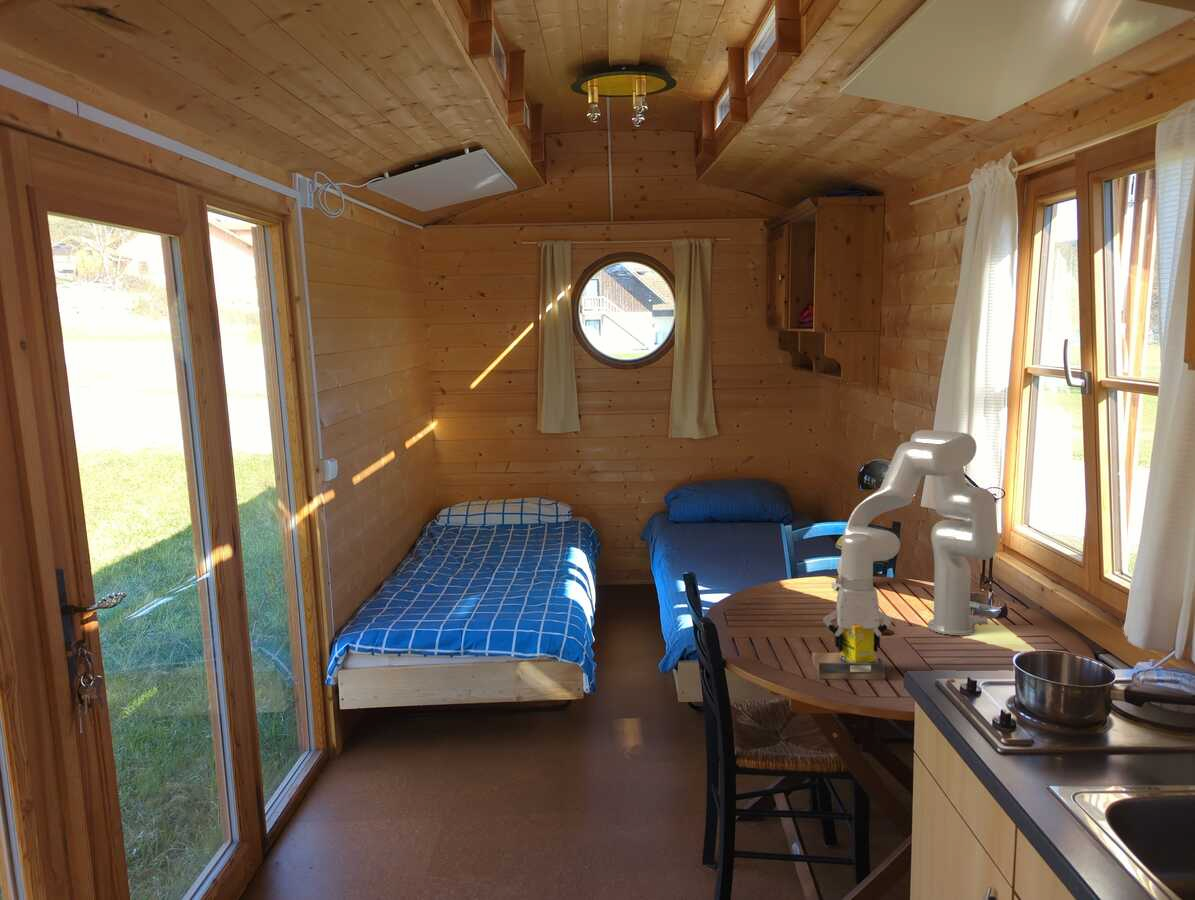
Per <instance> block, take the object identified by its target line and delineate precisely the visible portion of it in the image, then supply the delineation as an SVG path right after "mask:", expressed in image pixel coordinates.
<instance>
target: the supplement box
mask: <svg viewBox="0 0 1195 900" xmlns="http://www.w3.org/2000/svg"><path fill="white" fill-rule="evenodd" d="M841 636H842V651H841V652H840V653H841V661H843V662H845V663H874V654H875V651H874V631H873V629H863V626H862V625H855V626H851V629H844V630H843V631H842V633H841Z"/></svg>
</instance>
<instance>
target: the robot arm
mask: <svg viewBox="0 0 1195 900" xmlns="http://www.w3.org/2000/svg"><path fill="white" fill-rule="evenodd" d="M909 440H910V441H905V442H903V443H901V444H899V446H897V449H896V450H895V452H894V454H893V457H892V459H891V462H890V464H889V466H888V469H887V471H886V474H885V475H884V478H883V480H882V483H881V485H880V487H879V488H878V489H877V490H876V491H874V492H873V493H872V494H870V495H869V496H867V497H866V498H865V499H864V500H862V501H861V502H860V503H859V504H858V505H857V506H856V507H855V508H854V510H853V511H852V512H851V514H850V516H849V519H848V520H847V523H846V525H845V528H844V529H843V534H842V536H843V538H842V550H841V553H842V554H841V555H842V575H841V577H840V578H839V577H838V578H835V582H836V584H839V585H841V586H840V587H839V588H838V592H837V597H836V608H835V610H834V611H831V613H829V614H827V615H825V616H824V617H823V618H822V621H823V623H824V624H825V625H826V627H827V628H828V630H829V631H831V632H832V633H833V634H834V646H835V648H837V650H838V653H841V651H842V636H841V633H842V631H843V630H844V629H851V626H855V625H862V626H863V629H873V631H874V653H875V652H878V648H880V646H881V643H880V642H881V636H882V634H883V633H884V632H885V631H887V629H888V627H889V626H890V625H891V623H892V622H893V620H892V618H891V617H890V616H889V615H886V614H885V613H883V612H882V611H880V607H879V605H880V604H879V596H878V592H877V589H876V587H874V576H873V575H874V562H879V561H880V562H881V561H889V560H890V559H893V558H894V557H895V556H896V555H897V554H898V553H899V551H900V549H901V542H900V539H899V536H897V534H895V533H894V532H891V531H889V530H885V529H880V528H876V527H869V526H868V525H869V524H870V523H871V522H872V521H873V520H874V519H875V518H877V517H879V515H881V514H884V513H885V512H890V511H892V510H896V509H898V508H902V507H905V506H908V505H910V504H911V503H912V502H913V500H914V496H915V494H916V493H917V489H918V487H919V485H920V482H921V479H923V478H922V477H924V476H931V483H932V492H933V494H932V495H933V504H934V509H935V511H936V513H937V514H938V515H939V516H941V517H942V518H943V517H944V518H948V519H944V520H939V521H937V522H936V523H935V524H933V527H932V530H931V535H930V540H931V545H932V549H933V558H934V559H933V561H934V576H933V577H934V579H933V580H934V583H933V585H934V586H933V587H934V589H933V619H930V620H929V621H928V622H927V627H929V628H928V629H931V631H932V630H933V631H932V632H934V631H935V632H934V633H936V632H938V634H940V633H942V634H941V635H944V634H950V635H949V636H951V635H964V636H967V635H966V634H970V633H972V634H974V633H975V632H976V625H988V624H989V623H988V621H989V619H988V617H986V616H985V617H984V616H982V617H981V615H975V614H974V615H973V614H971V613H970V612H971V578H972V577H971V574H972V573H971V567H970V563H969V561H968V559H967V558H969V559H976V560H981V561H982V560H989V559H992V558H993V557H994V556H995V555H996V553H997V550H998V545H999V543H998V542H999V537H998V536H999V535H998V520H997V519H998V518H997V508H996V507H997V506H996V505H997V504H996V500H995V497H994V495H993V494H992V493H991V491H990V490H988V489H986V488H983V487H978V486H972V485H971V486H970V485H967V483H966V476H965V475H966V474H965V468H964V467H965V466H967V465H968V464H970V463H971V461H973V459H974V458H975V456H976V453H977V442H976V440H975V438H974V437H973V436H972V435H971V434H969V433H965V432H960V431H959V432H958V431H944V430H936V429H935V430H931V429H922V430H917V431H915V432H914V433H912V434H911V436H910V439H909ZM966 521H967V522H966ZM834 619H835V620H836V623H837V624H836V625H835V626H834V624H832V623H831V621H833V620H834ZM880 619H881V620H883V622H882V623H881V624H880ZM974 631H975V632H974ZM973 632H974V633H973ZM970 635H971V634H970Z"/></svg>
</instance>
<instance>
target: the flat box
mask: <svg viewBox="0 0 1195 900" xmlns="http://www.w3.org/2000/svg"><path fill="white" fill-rule="evenodd" d="M811 659H812V662H813V664H814V668H815V670H816V671H815V672H816V673H817V678H818V679H819V680H877V681H878V680H879V681H880V680H881V681H883V680H885V681H886V663H885V662H880V661H879V660H878V657H877V656H876V654H875V653H874V663H845V662H843V661H841V652H812V653H811Z"/></svg>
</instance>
